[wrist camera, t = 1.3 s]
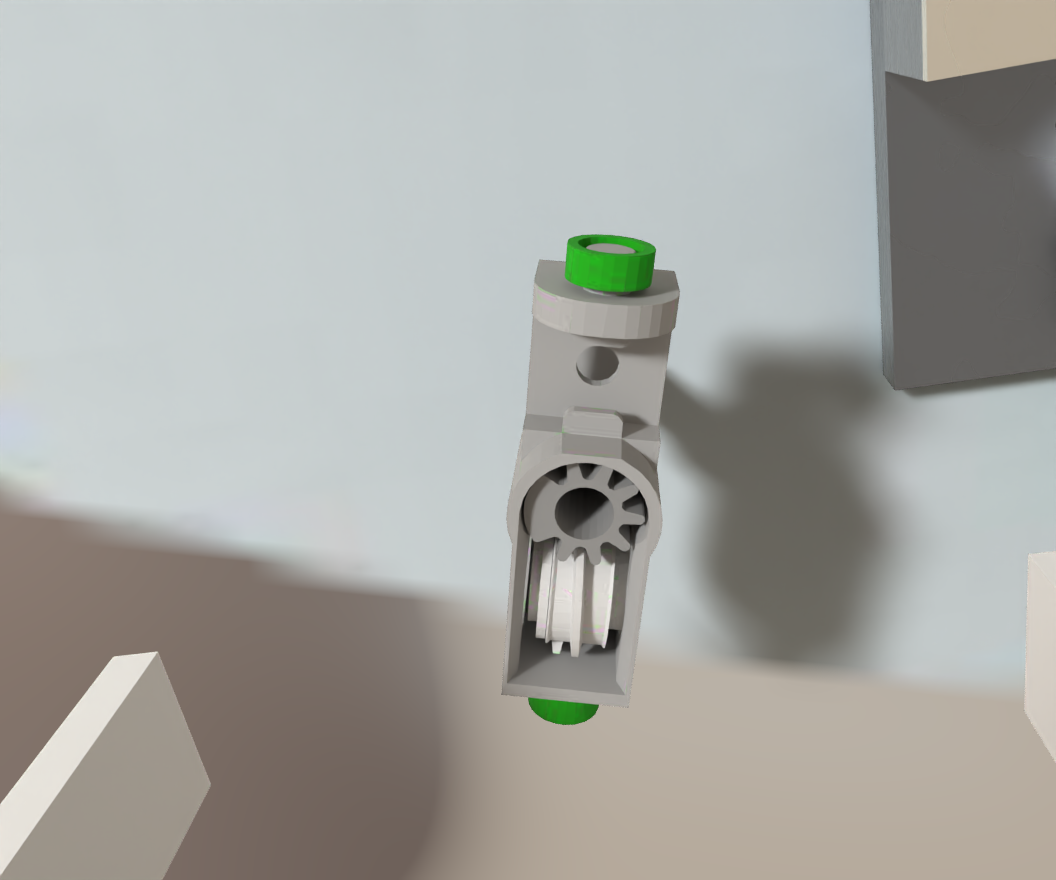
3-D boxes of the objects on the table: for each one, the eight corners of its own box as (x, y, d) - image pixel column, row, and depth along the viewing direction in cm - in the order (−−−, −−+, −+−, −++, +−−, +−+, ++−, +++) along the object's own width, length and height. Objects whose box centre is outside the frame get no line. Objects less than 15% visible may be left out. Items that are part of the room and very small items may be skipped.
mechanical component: (666, 170, 25) (700, 266, 16) (622, 511, 30) (631, 739, 20) (553, 161, 25) (524, 251, 16) (527, 502, 30) (492, 724, 21)
